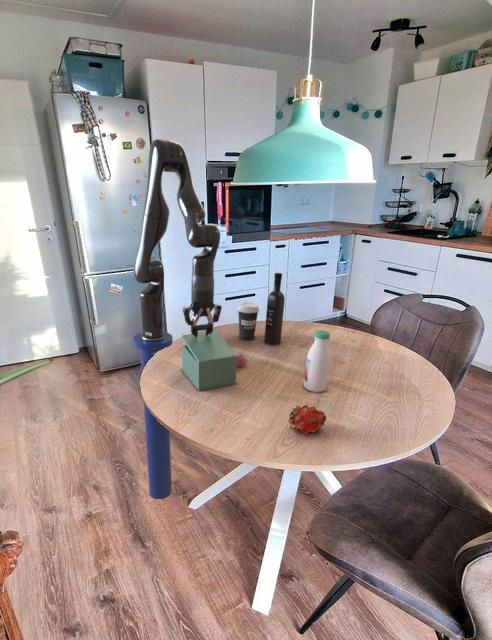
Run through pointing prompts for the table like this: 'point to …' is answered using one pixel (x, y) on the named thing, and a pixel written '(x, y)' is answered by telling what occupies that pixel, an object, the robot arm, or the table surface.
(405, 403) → the table surface
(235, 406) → the table surface
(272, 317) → the wine bottle
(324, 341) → the milk bottle
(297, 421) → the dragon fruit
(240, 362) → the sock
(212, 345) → the green box lid
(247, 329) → the coffee cup
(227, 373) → the green rectangular box
